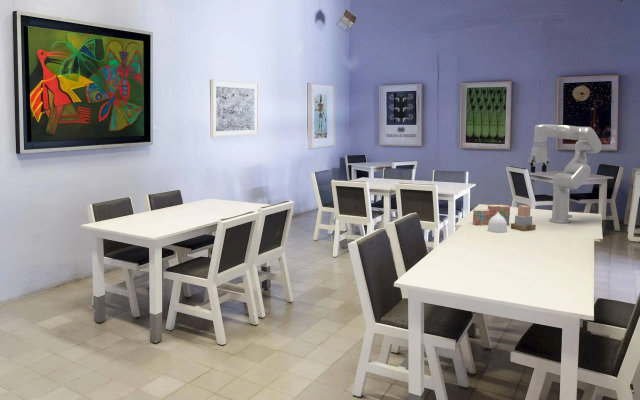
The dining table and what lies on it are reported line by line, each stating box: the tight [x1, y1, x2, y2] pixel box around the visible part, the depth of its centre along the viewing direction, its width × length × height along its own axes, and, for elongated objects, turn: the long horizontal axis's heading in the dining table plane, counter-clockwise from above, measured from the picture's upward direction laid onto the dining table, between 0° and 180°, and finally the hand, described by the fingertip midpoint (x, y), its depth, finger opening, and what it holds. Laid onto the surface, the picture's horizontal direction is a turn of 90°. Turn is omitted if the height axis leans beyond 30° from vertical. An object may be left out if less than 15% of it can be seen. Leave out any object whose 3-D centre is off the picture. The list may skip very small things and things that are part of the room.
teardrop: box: [487, 212, 508, 234], centre depth 329 cm, size 11×11×12 cm
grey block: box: [514, 214, 533, 226], centre depth 334 cm, size 7×7×5 cm
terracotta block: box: [517, 204, 532, 217], centre depth 334 cm, size 5×5×6 cm
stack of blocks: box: [472, 204, 511, 226], centre depth 349 cm, size 21×6×12 cm, turn 86°
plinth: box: [510, 222, 537, 232], centre depth 335 cm, size 10×10×3 cm
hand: (538, 172), depth 344 cm, fingers open, 9 cm apart
